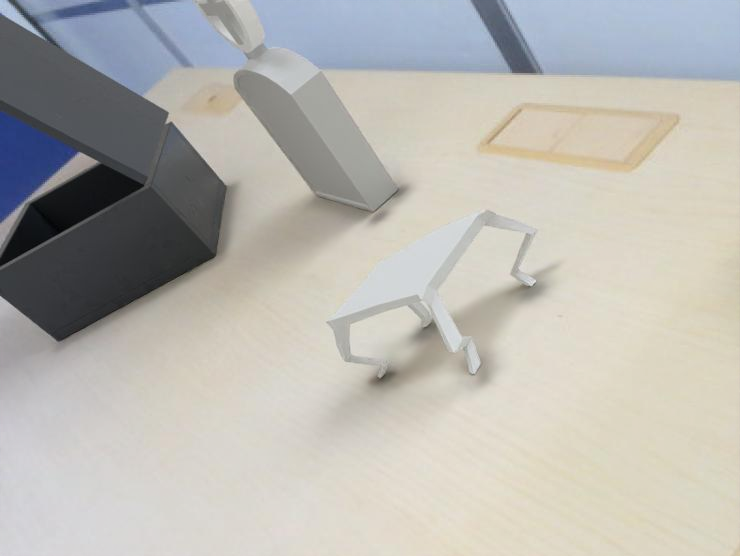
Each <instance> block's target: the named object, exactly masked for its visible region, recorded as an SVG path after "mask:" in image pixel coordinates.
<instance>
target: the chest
mask: <svg viewBox="0 0 740 556" xmlns="http://www.w3.org/2000/svg"><path fill="white" fill-rule="evenodd" d="M226 189H227V184H226V183H225V182H224V181H223V180H222V179H221V178H220V177H219V175H218V174H217V173H216V172H215V171H214V170H213V168H212V167H211V166H210V165H209V164H208V162H207V161H206V159H204V158H203V157H202V155H201V154H200V153H199V152H198V150H196V148H195V147H194V146H193V144H191V142H190V141H189V140H188V139H187V137H185V135H184V134H183V133H182V131H180V130H179V128H178V127H177V126H176V125H175V124H174V122H173V121H169V122H168V123H167V122H166V124H165V127H164V130H163V133H162V136H161V139H160V143H159V146H158V149H157V152H156V155H155V158H154V161H153V164H152V167H151V170H150V173H149V176H148V179H147V180H146V182H145V184H144V185H143V184H141V183H139V182H137V181H135V180H133V179H131V178H129V177H127V176H125V175H123V174H122V173H120V172H118V171H116V170H114V169H112V168H110V167H108V166H106V165H104V164H102V163H100V162H98V161H97V162H96V163H94V164H92V165H91V166H89V167H87V168H85V169H83V170H82V171H80V172H78V173H76V174H75V175H73V176H71V177H70V178H68V179H66V180H64V181H62V182H61V183H59V184H57V185H55V186H53V187H52V188H50V189H48V190H45V192H43V193H41V194H39V195H37V196H36V197H34V198H32V199H30V200H28V201H27V202H25V203H24V205H23V206H22V208H21V210H20V212H19V214H18V215H17V217H16V219H15V221H14V222H13V224H12V226H11V228H10V229H9V231H8V233H7V235H6V237H5V239H4V240H3V242H2V244H1V245H0V297H1V298H2V299H3V300H4V301H6V302H7V303H9V304H10V305H11V306H12V307H13V308H15V309H16V310H17V311H19V312H20V313H21V314H22V315H24V316H25V317H26V318H27V319H29V320H30V321H31V322H32V323H34V324H35V325H36V326H38V327H39V328H40V329H42V330H43V332H45V333H46V334H47V335H49V336H51V338H53V339H54V340H56V342H60V341H62V340H63V339H65V338H67V337H69V336H71V335H72V334H75V333H76V332H78V331H80V330H82V329H84V328H86V327H87V326H89V325H91V324H93V323H95V322H97V321H99V320H100V319H102V318H104V317H106V316H107V315H109V314H111V313H113V312H115V311H117V310H119V309H120V308H123V307H124V306H126V305H127V304H129V303H132V302H133V301H135V300H137V299H139V298H141V297H143V296H144V295H146V294H148V293H150V292H151V291H153V290H155V289H157V288H159V287H161V286H163V285H164V284H167V283H168V282H170V281H172V280H174V279H176V278H177V277H180V276H181V275H184V274H185V273H187V272H188V271H190V270H192V269H194V268H196V267H198V266H199V265H201V264H203V263H205V262H207V261H209V260H211V259H212V258H214V257H216V255H217V249H218V242H219V236H220V235H219V234H220V230H221V223H222V216H223V210H224V203H225V196H226Z"/></svg>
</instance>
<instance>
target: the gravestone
mask: <svg viewBox="0 0 740 556" xmlns="http://www.w3.org/2000/svg"><path fill="white" fill-rule="evenodd" d="M192 2H193V3H194V5H195V6H196V8H197V9H198V11H199V12H200V13H201V15H202V16H203V17H204V18H205V20H206V21H207V22H208V24H209V25H211V27H212V28H213V29H214V30H215V31H216V32H217V33H218V34H219V35H220V36H221V37H222V38H223V40H225V41H226V42H227V43H229V45H231V46H232V47H234V48H235V49H237V50H238V51H240V52H242V53H243V55H245V57H246V58H247V60H246V62H245V63H244V65H243V66H242V67H240V68H239V69H238V70H237V71H236V72H235V73H234V74H233V79H232V81H233V86H234V90H235V91H236V92H237V94H238V95H239V96H240V98H241V99H242V100H243V101H244V103H245V104H246V106H247V107H248V109H249V110H250V111H251V112H252V113H253V115H254V116H255V118H256V119H257V121H259V123H260V124H261V125H262V126H263V129H265V131H266V133H268V135H269V136H270V137H271V139H272V140H273V141H274V142H275V144H276V145H277V147H278V148H279V150H280V151H281V152H282V153H283V155H284V156H285V157H286V158H287V160H288V161H289V162H290V164H291V165H292V166H293V167H294V169H295V171H297V173H298V174H299V175H300V178H302V180H303V181H304V182H305V184H306V185H307V186H308V188H309V189H310V190H311V192H312V193H313V195H315V197H319V198H322V199H327V200H330V201H333V202H337V203H340V204H344V205H347V206H351V207H354V208H358V209H361V210H365V211H368V212H371V213H372V212H373V213H374V212H376V211H377V209H378V208H380V207H381V206H382V205H383V204H384V203H385V202H387V201H388V200H389V198H391V197H392V196H393V195H394V194H395V193H396V192H398V190H399V187H398V185H397V184H396V182H395V181H394V179H393V178H392V177H391V175H390V173H389V171H387V169H386V167H385V166H384V164H383V163H382V161H381V160H380V158H379V157H378V155H377V153H376V152H375V151H374V149H373V147H372V146H371V144H370V143H369V141H368V140H367V138H366V137H365V136H364V133H362V132H363V131H362V130H361V129H360V127H359V126H358V124H357V123H356V121H355V120H354V118H353V117H352V115H351V114H350V112H349V111H348V110H347V109H348V108H347V107H346V106H345V105H344V103H343V101H342V100H341V99H340V97H339V95H338V94H337V92H336V91H335V89H334V87H333V86H332V85H331V83H330V82H329V80H328V79H327V77H326V76H325V74H324V72H323V71H322V69H320V68H319V67H317V65H315V64H313V62H311V61H310V60H309V59H307V58H305V56H302V55H301V54H299V53H297V52H295V51H293V50H292V49H291V50H290V49H288V48H285V47H279V46H272V47H271V46H270V47H267V46H266V45H265V44H264V41H266V39H265V38H266V34H265V30H264V27H263V23H262V21H261V20H260V17H259V14H258V13H257V11H256V10H255V8H254V5H253V3H252V2H251V1H250V0H192Z"/></svg>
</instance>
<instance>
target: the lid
mask: <svg viewBox="0 0 740 556" xmlns="http://www.w3.org/2000/svg"><path fill="white" fill-rule="evenodd" d="M0 112H2V113H4V114H6V115H7V116H9V117H12V118H13V119H16V120H17V121H19V122H20V123H23V124H25V125H27V126H28V127H31V128H32V129H35V130H36V131H38V132H40V133H42V134H45V135H46V136H48V137H50V138H52V139H54V140H55V141H58V142H60V143H62V144H64V145H65V146H67V147H70V148H71V149H74V150H75V151H77V152H79V153H81V154H82V155H84V156H87V157H89V158H91V159H93V160H95V161H97V163H98V162H100V163H102V164H104V165H106V166H108V167H110V168H112V169H114V170H116V171H118V172H120V173H122V174H123V175H125V176H127V177H129V178H131V179H133V180H135V181H137V182H139V183H141V184H143V185H144V184H145V182H146V180H147V179H148V176H149V173H150V170H151V167H152V164H153V161H154V158H155V155H156V152H157V149H158V146H159V143H160V139H161V136H162V133H163V130H164V127H165V124H167V122H168V121H167V120H168V119H169V115H170V112H169V111H168V110H166V109H164V108H163V107H161V106H159V105H157V104H156V103H154V102H152V101H150V100H149V99H147V98H145V97H143V96H142V95H140V94H139V93H137V92H135V91H134V90H132V89H130V88H128V87H127V86H125V85H123V84H122V83H120V82H118V81H117V80H115V79H113V78H112V77H109V76H108V75H106V74H104V73H102V72H101V71H99V70H97V69H96V68H94V67H93V66H90V65H89V64H87V63H86V62H84V61H82V60H80V59H78V58H77V57H75V56H73V55H72V54H70V53H69V52H67V51H65V50H63V49H62V48H60V47H58V46H56V45H55V44H53V43H51V42H50V41H48V40H46V39H45V38H43V37H41V36H39V35H37V34H36V33H34V32H32V31H31V30H29V29H27V28H25V26H23V25H20V24H19V23H17V22H15V21H14V20H12V19H11V18H9V17H7V16H5V15H3V14H1V13H0Z"/></svg>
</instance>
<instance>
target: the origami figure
mask: <svg viewBox="0 0 740 556" xmlns="http://www.w3.org/2000/svg"><path fill="white" fill-rule="evenodd" d="M484 226H485V227H490V228H496V229H500V230H507V231H512V232H517V233H524V237H523V240H522V243H521V245H520V248H519V250H518V252H517V255H516V258H515V260H514V263H513V266H512V268H511V270H510V273H509V275H510V276H511V277H513V279H516V280H517V281H519V282H520V283H522V284H523V285H525V286H527V287H533V286H534V284H535V283H537V280H536V279H535V278H533V277H532V276H530V275H529V274H527V273H525V272H524V271H522V270H520V269H519V268H520V266H521V265H522V263H523V260H524V258H525V257H526V255H527V253H528V251H529V249H530V247H531V245H532V243H533V241H534V239H535V237H536V236H537V233H538V231H539V228H537V227H535V226H533V225H530V224H526V223H525V222H522V221H519V220H516V219H514V218H510V217H506V216H503V215H500V214H497V213H495V212H494V211H493V210H490V209H489V208H488V209H483V210H478V211H475V212H473V213H470V214H467V215H466V216H464V217H461V218H459V219H456V220H454V221H451V222H449V223H448V224H444V225H443V226H441V227H438V228H436V229H434V230H431V231H430V232H428V233H426V234H424V235H423V236H421V237H420V238H418V239H416V240H415V241H413V242H411V243H409V244H407V245H406V246H405V247H402V248H401V249H399V250H397V251H396V252H394V253H393V254H391V255H390V256H388V257H387V258H384V259H381V260H379V262H378V263H377V264H376V266H375V267H374V268H373V269H372V270H371V272H369V274H368V275H367V276H366V277H365V278H364V279H363V281H362V282H361V283H360V284H359V285H358V286H357V287H356V288H355V290H354V291H353V292H352V293H351V294H350V295H349V296H348V297H347V299H346V300H345V301H344V302H343V303H342V304H341V306H340V307H338V309H337V310H336V311H335V312H334V314H333V315H331V316H330V317H329V318H328V319H326V320H325V323H326V324H327V325H328V327H330V329H332V331H333V336H334V339H335V343H336V347H337V349H338V353H339V354H340V357H341V359H342V361H344V362H345V363H351V364H359V365H360V364H361V365H369V366H376V367H377V366H378V367H380V368H379V370H378V373H377V377H378V378H379V379H382V378H383V377H384V375H386V372H387V368H388V365H389V360H385V359H381V358H373V357H368V356H360V355H355V354H352V353H351V341H350V336H351V334H350V333H351V325H352V324H355V323H358V322H361V321H363V320H366V319H369V318H371V317H374V316H376V315H379V314H382V313H385V312H388V311H392V310H394V309H395V310H396V309H399V308H402V307H405V306H407V307H408V308H409V309H410V310H411V311H412V312H413V313H414V314H415V315H416V316H418V318H419V319H420V320H421V327H422V328H428V326H429V325H430V324H431V323H432V320H434V323H435V325H436V328H437V330H438V332H439V334H440V336H441V338H442V340H443V342H444V345H445V347H446V349H447V351H448V352H450V353H452V354H457V353H458V352H459V351H461V350H462V349H463V353H464V355H465V356H464V357H465V361H466V364H467V368H468V372H469V373H470V374H472V375H475V374H476V373H477V371H478V370H479V367H480V366H481V364H482V362H481V359H480V357H479V354H478V351H477V347H476V345H475V341H474V339H473V336H466V335H462V334H461V332H460V330H459V328H458V327H457V325H456V323H455V321H454V320H453V319H454V318H453V317H452V316H451V314H450V312H449V310H448V308H447V307H446V304H445V303H444V301H443V299H442V298H441V295H440V294H439V289H440V288H441V287H442V286H443V284H444V282H446V280H447V278H448V277H449V275H450V274H451V272H452V271H453V270H454V268H455V267H456V266H457V264H458V263H459V261H460V260H461V258H462V257H463V256H464V254H465V253H466V251H467V250H468V248H469V247H470V246H471V244H472V243H473V242H474V240H475V239H476V237H477V236H478V234H480V232H481V230H482V229H483V227H484ZM422 302H424V303H426V304H427V307H428V309H429V310H428V309H427V308H426V307H425V305H424V304H423V303H422ZM432 318H433V319H432Z"/></svg>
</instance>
